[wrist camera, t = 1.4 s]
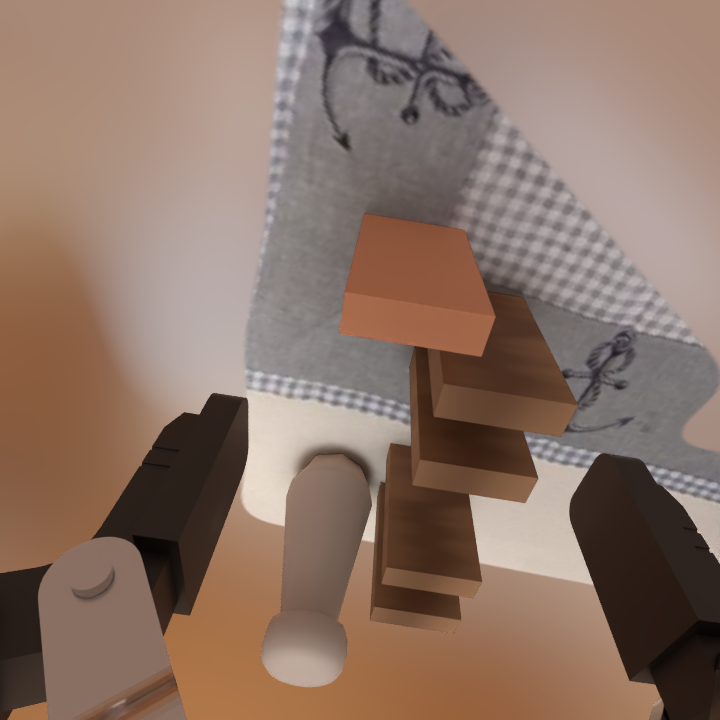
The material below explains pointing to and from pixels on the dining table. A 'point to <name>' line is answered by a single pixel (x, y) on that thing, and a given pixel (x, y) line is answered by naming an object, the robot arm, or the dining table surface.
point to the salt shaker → (317, 571)
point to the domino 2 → (504, 377)
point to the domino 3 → (464, 448)
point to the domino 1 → (416, 288)
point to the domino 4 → (427, 534)
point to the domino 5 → (408, 594)
